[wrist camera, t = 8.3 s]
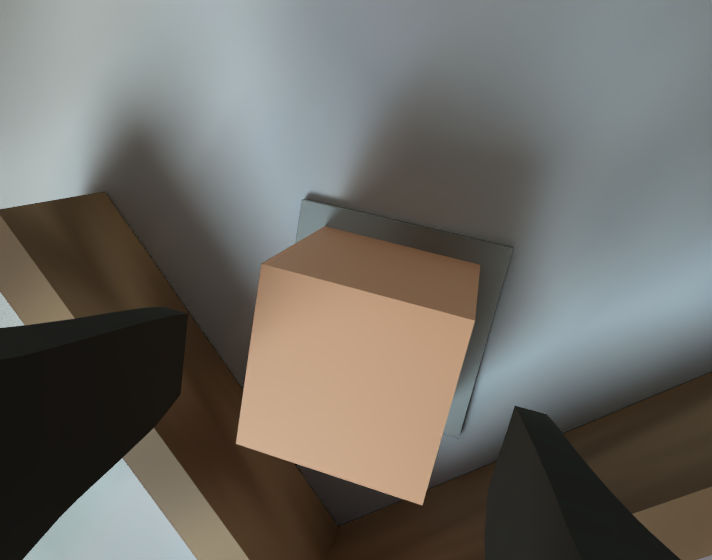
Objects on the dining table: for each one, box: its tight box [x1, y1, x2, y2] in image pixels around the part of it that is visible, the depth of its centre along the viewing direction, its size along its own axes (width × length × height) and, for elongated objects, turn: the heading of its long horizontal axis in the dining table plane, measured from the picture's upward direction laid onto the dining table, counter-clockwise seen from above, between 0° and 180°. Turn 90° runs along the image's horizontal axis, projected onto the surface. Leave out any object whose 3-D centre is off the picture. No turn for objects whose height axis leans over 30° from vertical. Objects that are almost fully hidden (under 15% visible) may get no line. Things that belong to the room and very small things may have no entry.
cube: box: [236, 226, 480, 505], centre depth 14 cm, size 4×4×4 cm
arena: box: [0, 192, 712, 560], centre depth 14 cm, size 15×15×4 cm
